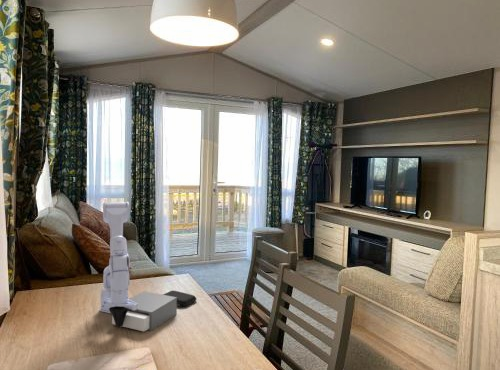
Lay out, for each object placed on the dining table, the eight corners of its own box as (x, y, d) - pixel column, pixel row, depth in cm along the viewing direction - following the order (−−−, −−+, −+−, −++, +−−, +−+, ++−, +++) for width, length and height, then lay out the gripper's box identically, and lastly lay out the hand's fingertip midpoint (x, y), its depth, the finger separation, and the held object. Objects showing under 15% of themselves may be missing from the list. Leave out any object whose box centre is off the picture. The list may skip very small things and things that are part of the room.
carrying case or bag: (155, 302, 162) (182, 310, 155) (155, 296, 162) (182, 303, 155) (172, 295, 171) (198, 301, 164) (172, 288, 171) (198, 295, 164)
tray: (112, 324, 138) (111, 311, 138) (136, 310, 151) (136, 299, 150) (144, 331, 133) (144, 318, 132) (166, 317, 145) (166, 305, 145)
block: (131, 320, 140) (131, 310, 140) (139, 316, 145) (139, 305, 144) (141, 322, 139) (141, 312, 138) (148, 318, 143) (148, 307, 143)
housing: (116, 322, 141) (116, 304, 141) (143, 307, 156) (143, 291, 156) (151, 330, 135) (151, 312, 135) (176, 314, 150) (176, 297, 150)
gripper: (95, 289, 132) (95, 326, 133) (128, 295, 127) (128, 334, 128) (109, 283, 139) (109, 319, 140) (141, 289, 133) (141, 326, 134)
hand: (119, 326), depth 134 cm, fingers closed, pressing on tray
